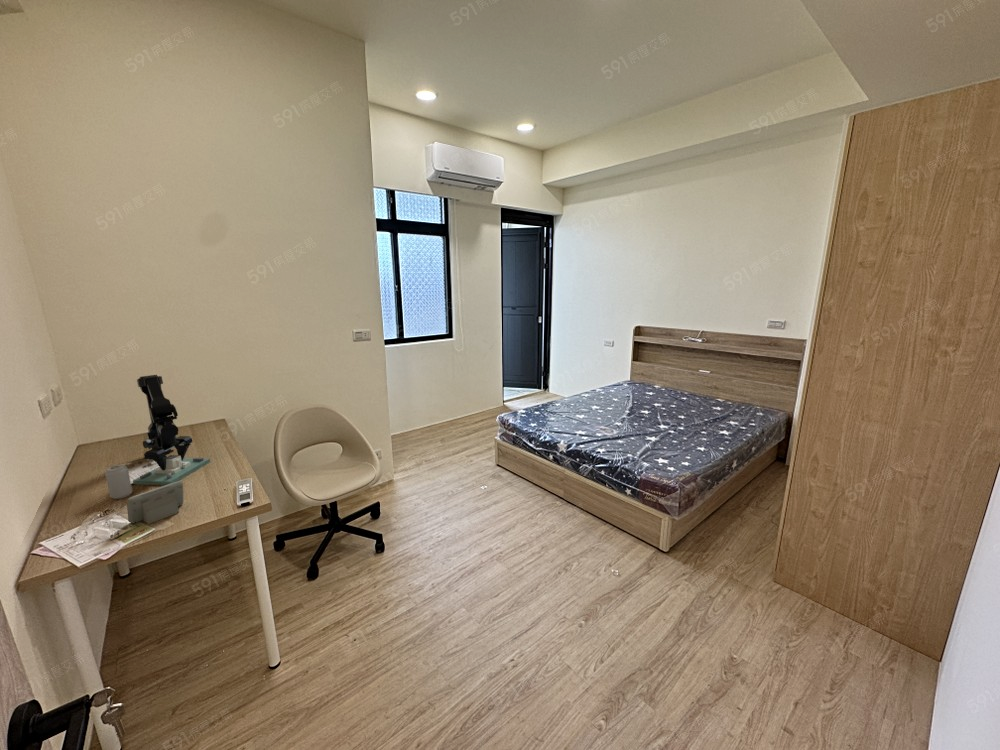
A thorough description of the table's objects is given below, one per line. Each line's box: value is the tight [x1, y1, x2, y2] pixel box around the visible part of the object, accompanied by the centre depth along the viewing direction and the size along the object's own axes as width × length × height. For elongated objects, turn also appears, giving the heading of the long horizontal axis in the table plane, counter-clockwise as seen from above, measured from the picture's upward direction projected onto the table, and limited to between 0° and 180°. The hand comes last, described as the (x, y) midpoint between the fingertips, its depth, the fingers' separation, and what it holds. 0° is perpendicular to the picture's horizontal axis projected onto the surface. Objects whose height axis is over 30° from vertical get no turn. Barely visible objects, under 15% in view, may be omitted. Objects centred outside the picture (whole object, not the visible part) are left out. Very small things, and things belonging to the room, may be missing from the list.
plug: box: [166, 454, 183, 469], centre depth 176 cm, size 4×6×7 cm
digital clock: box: [126, 480, 185, 525], centre depth 143 cm, size 16×9×11 cm, turn 136°
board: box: [132, 457, 211, 486], centre depth 176 cm, size 22×16×3 cm
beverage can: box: [104, 464, 134, 500], centre depth 156 cm, size 6×6×12 cm
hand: (172, 465), depth 176 cm, fingers open, 9 cm apart
